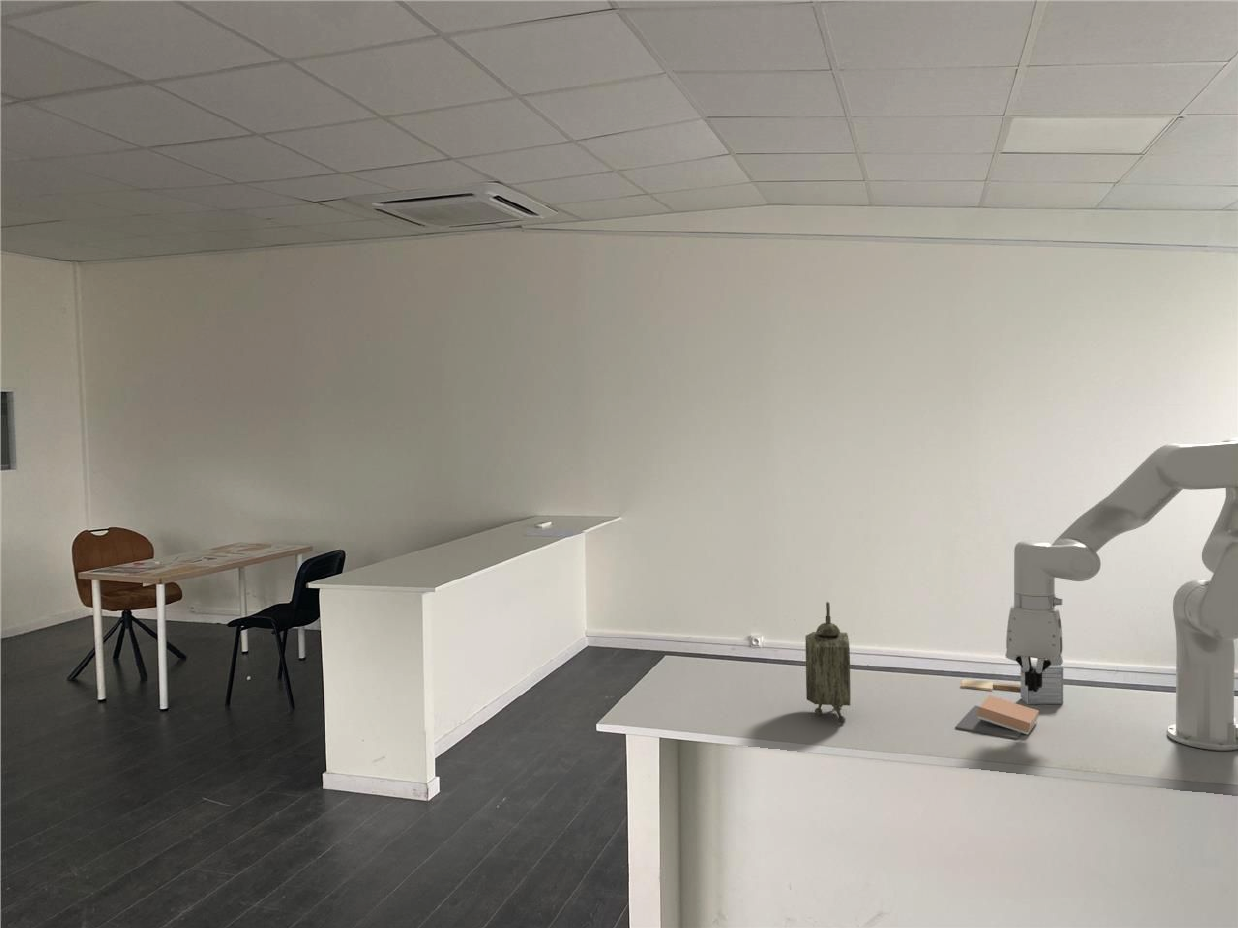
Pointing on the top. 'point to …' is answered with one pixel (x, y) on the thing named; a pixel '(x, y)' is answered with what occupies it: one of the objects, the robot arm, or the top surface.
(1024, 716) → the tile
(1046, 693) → the medicine box
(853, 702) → the top surface
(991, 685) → the beech turner
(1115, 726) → the top surface
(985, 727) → the mat
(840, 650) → the tabletop clock
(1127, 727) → the top surface
